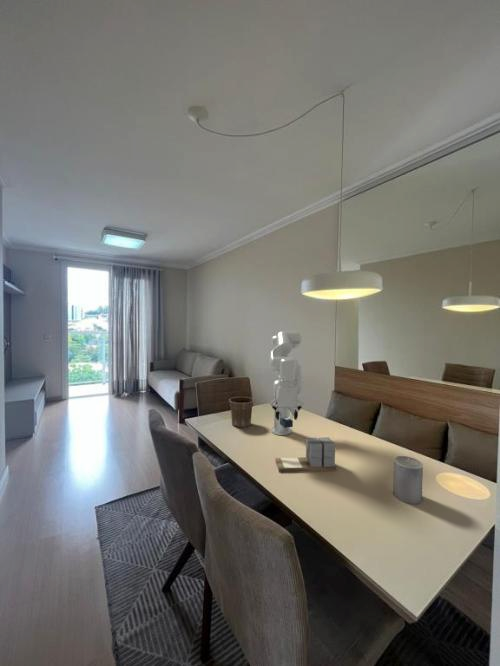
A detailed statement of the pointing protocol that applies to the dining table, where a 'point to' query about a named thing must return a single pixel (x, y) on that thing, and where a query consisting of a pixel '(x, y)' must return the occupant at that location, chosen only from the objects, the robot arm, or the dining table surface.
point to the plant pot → (241, 411)
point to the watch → (287, 418)
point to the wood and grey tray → (311, 457)
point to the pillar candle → (408, 479)
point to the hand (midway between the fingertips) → (286, 419)
